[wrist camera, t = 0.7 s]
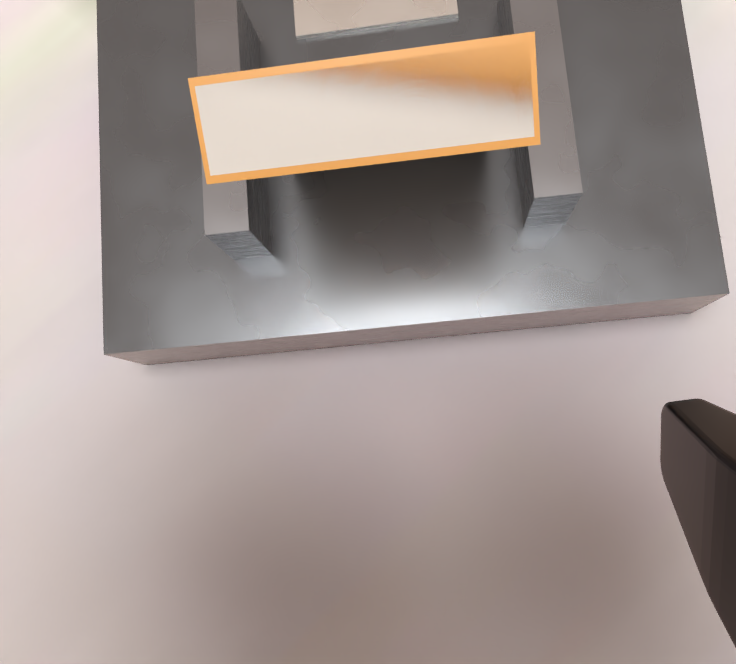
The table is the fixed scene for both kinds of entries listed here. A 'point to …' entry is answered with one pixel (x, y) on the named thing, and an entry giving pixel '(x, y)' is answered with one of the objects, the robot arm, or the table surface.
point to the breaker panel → (400, 185)
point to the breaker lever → (368, 109)
